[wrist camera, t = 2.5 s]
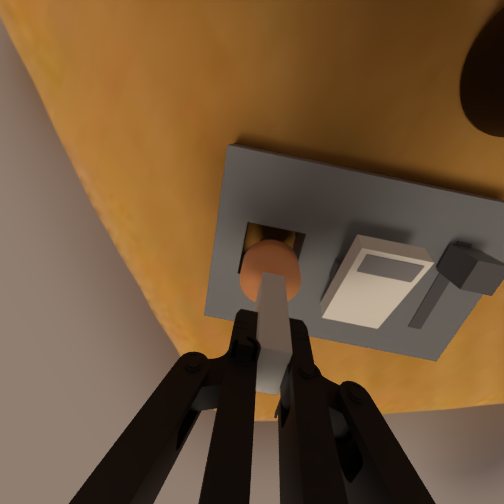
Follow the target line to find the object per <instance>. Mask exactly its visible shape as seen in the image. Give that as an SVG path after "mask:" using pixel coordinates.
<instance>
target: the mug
mask: <svg viewBox="0 0 504 504" xmlns="http://www.w3.org/2000/svg"><path fill="white" fill-rule="evenodd" d="M461 98H462V103H463V107H464V110H465V112H466V115H467V116H468V118H469V119H470V121H471V122H472V123H473V124H474V125H475V126H476V127H477V128H478V129H480V130H481V131H483V132H485V133H487V134H490V135H493V136H497V137H504V8H503V9H502V10H501V11H500V12H499V13H498V14H497V15H496V16H495V17H494V18H493V19H492V20H491V22H490V23H489V24H488V25H487V26H486V28H485V29H484V31H483V32H482V34H481V35H480V36H479V38H478V40H477V41H476V43H475V45H474V47H473V48H472V50H471V52H470V55H469V57H468V59H467V62H466V65H465V68H464V72H463V76H462V84H461Z"/></svg>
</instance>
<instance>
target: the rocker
mask: <svg viewBox="0 0 504 504" xmlns="http://www.w3.org/2000/svg"><path fill="white" fill-rule="evenodd" d="M433 264H434V261H433V260H432V258H431V257H430V255H429V254H428V252H427V251H426V249H425V248H422V247H417V246H412V245H407V244H402V243H397V242H393V241H388V240H383V239H378V238H373V237H368V236H363V235H359V234H357V236H356V238H355V240H354V241H353V243H352V245H351V247H350V249H349V251H348V253H347V254H346V256H345V258H344V260H343V262H342V264H341V266H340V267H339V269H338V271H337V273H336V275H335V277H334V279H333V280H332V282H331V284H330V286H329V288H328V290H327V292H326V293H325V295H324V297H323V299H322V301H321V303H320V306H321V315H322V318H326V319H331V320H336V321H341V322H346V323H351V324H356V325H361V326H366V327H371V328H376V329H378V328H379V327H380V325H381V324H382V323H383V322H384V321H385V320H386V318H387V317H388V316H389V315H390V314H391V313H392V311H393V310H394V309H395V308H396V307H397V306H398V305H399V303H400V302H401V301H402V300H403V299H404V298H405V296H406V295H407V294H408V293H409V292H410V291H411V289H412V288H413V287H414V286H415V285H416V284H417V282H418V281H419V280H420V279H421V278H422V277H423V276H424V274H425V273H426V272H427V271H428V270H429V269H430V267H431V266H432V265H433Z"/></svg>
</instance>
